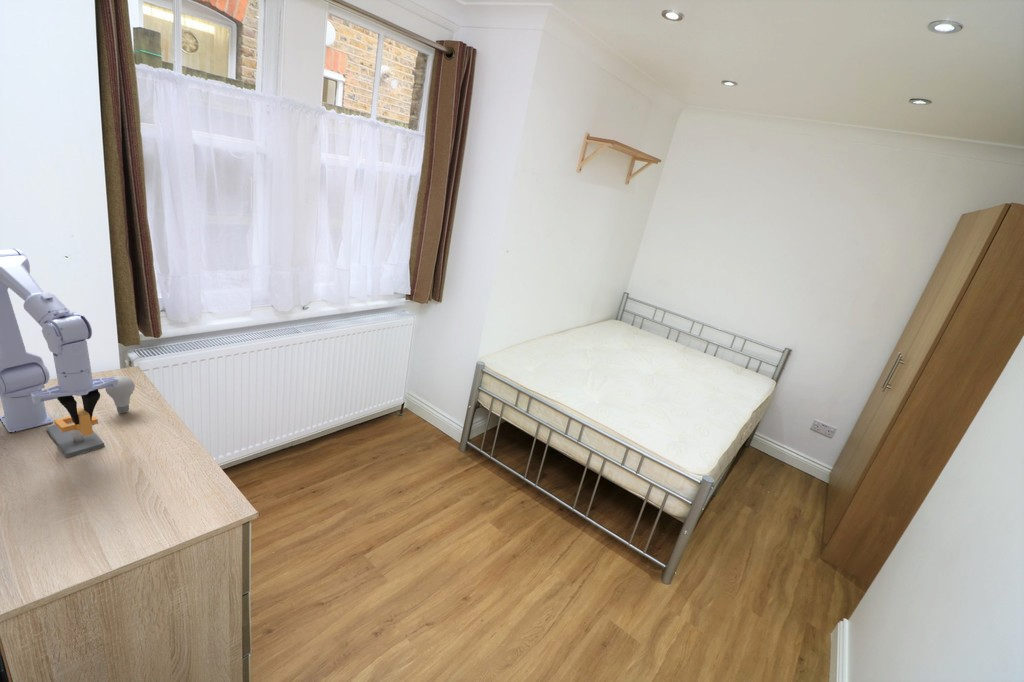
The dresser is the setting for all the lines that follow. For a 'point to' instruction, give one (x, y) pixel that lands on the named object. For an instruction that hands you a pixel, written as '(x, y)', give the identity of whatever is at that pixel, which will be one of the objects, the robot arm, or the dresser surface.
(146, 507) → the dresser surface
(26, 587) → the dresser surface
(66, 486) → the dresser surface
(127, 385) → the lightbulb
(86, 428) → the orange loop handle block
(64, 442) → the keeper board
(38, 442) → the dresser surface
